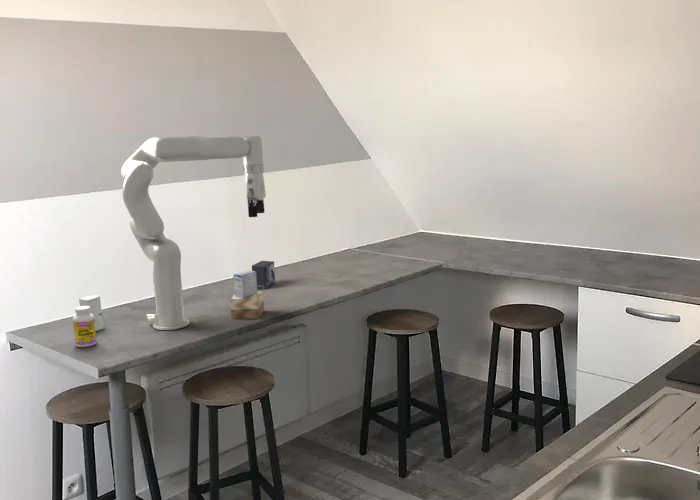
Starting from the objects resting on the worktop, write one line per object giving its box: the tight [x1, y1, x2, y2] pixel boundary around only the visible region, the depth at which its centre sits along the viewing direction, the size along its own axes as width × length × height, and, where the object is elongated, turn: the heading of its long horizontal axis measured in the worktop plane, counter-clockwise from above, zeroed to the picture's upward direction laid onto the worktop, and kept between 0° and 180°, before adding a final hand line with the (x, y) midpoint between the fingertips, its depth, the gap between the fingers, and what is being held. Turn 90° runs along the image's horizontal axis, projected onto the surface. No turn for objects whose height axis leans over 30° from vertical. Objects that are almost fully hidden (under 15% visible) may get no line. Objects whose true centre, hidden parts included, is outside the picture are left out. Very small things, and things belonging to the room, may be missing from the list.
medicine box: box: [232, 269, 258, 298], centre depth 264 cm, size 8×4×9 cm, turn 145°
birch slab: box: [230, 291, 264, 311], centre depth 265 cm, size 10×10×4 cm
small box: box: [251, 260, 276, 290], centre depth 309 cm, size 11×6×10 cm, turn 161°
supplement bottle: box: [72, 305, 97, 348], centre depth 237 cm, size 7×7×13 cm
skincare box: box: [78, 295, 104, 332], centre depth 253 cm, size 6×4×12 cm
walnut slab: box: [230, 301, 265, 320], centre depth 266 cm, size 10×10×4 cm
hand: (256, 214), depth 268 cm, fingers open, 9 cm apart
